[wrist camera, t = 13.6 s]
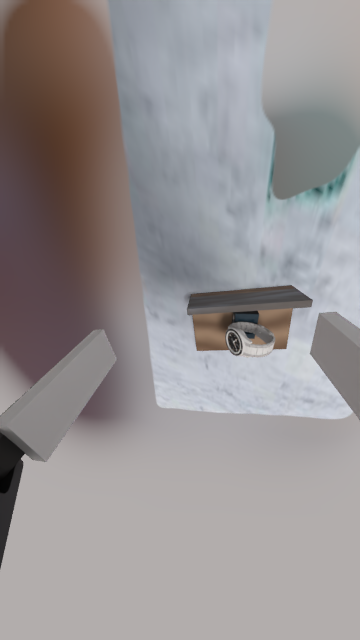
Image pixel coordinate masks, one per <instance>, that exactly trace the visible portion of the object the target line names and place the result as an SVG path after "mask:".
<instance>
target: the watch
mask: <svg viewBox="0 0 360 640" xmlns="http://www.w3.org/2000/svg"><path fill="white" fill-rule="evenodd" d="M258 319H259V313H258V311H243V312H233V317H232V324H230V325H229V326H228V330H227V331H226V334H225V340H226V344H227V347H228V349H229V350H230V352H231V353H232V354H233V355H235V356H243V357H247V358H248V357H264V356H267V355H269V354H270V353H271V352H272V350H273V347H274V343H275V337H274V334H273V333H272V332H271V331H270V330H268V329H267V328H265V327H264V326H262V325H260V324H259V325H257V324H258ZM255 334H256V336H257V337H259V338H260V339H262V340H263V341H264V342H265V343H266V344H263V345H258V344H257V345H255V344H251V343H252V341H251V340H250V339H255Z"/></svg>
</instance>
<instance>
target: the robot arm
mask: <svg viewBox="0 0 360 640" xmlns="http://www.w3.org/2000/svg"><path fill="white" fill-rule="evenodd" d="M310 354H311V356H312V357H313V358H314V360H315V361H316V362H317V364H318V365H319V366H320V368H321V369H322V370H323V372H324V373H325V374H326V376H327V377H328V378H329V380H330V381H331V382H332V384H333V385H334V386H335V388H336V389H337V390H338V392H339V393H340V394H341V396H342V397H343V398H344V400H345V401H346V402H347V404H348V405H349V406H350V408H351V409H352V410H353V412H354V413H355V414H356V416H357V417H358V418H359V420H360V329H359V328H358V327H356V326H355V325H354V324H352V323H351V322H349V321H348V320H347V319H345V318H344V317H342V316H341V315H340V314H338V313H337V312H328V313H319V316H318V320H317V325H316V329H315V334H314V338H313V343H312V347H311V351H310ZM116 360H117V358H116V356H115V354H114V352H113V350H112V347H111V345H110V343H109V341H108V339H107V336H106V334H105V332H104V330H94V331H93V332H91V334H89V336H87V337H86V338H85V339H84V340H83V341H82V342H81V343H80V344H78V345H77V346H76V347H75V348H74V349H73V350H72V351H71V352H70V353H69V354H68V355H66V356H65V357H64V358H63V359H62V360H61V361H60V362H59V363H58V364H57V365H56V366H54V367H53V368H52V369H51V370H50V371H49V372H48V373H47V374H46V375H45V376H44V377H43V378H42V379H40V380H39V381H38V382H37V383H35V384H34V385H33V386H32V387H31V388H30V389H29V390H28V391H27V392H26V393H25V394H24V395H22V397H21V398H19V399H18V400H17V401H16V402H15V403H14V404H13V405H11V406H10V407H9V408H8V409H7V410H6V411H5V412H4V413H3V414H2V415H1V416H0V568H1V563H2V559H3V554H4V550H5V545H6V541H7V536H8V532H9V527H10V523H11V519H12V514H13V510H14V505H15V500H16V496H17V492H18V487H19V483H20V478H21V473H22V469H23V461H22V460H21V457H22V456H23V455H24V454H26V455H28V456H29V457H30V458H31V459H32V460H36V461H44V462H46V461H47V460H48V459H49V457H50V456H51V454H52V453H53V451H54V450H55V448H56V447H57V446H58V444H59V443H60V441H61V440H62V438H63V437H64V436H65V434H66V433H67V431H68V429H69V428H70V427H71V425H72V424H73V422H74V421H75V420H76V418H77V417H78V415H79V414H80V412H81V411H82V409H83V408H84V407H85V405H86V404H87V402H88V401H89V399H90V398H91V396H92V395H93V394H94V392H95V391H96V389H97V388H98V386H99V385H100V383H101V382H102V380H103V379H104V378H105V376H106V375H107V373H108V372H109V370H110V369H111V367H112V366H113V365H114V363H115V362H116Z"/></svg>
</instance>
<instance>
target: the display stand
mask: <svg viewBox="0 0 360 640" xmlns="http://www.w3.org/2000/svg"><path fill="white" fill-rule="evenodd" d="M312 301H313V300H312V299H310V298H309V297H308V296H306V295H305V294H303V293H302V292H300V291H299V290H297V289H296V288H295V287H293V286H292V285H290V286H279V287H267V288H256V289H245V290H234V291H222V292H211V293H200V294H191V297H190V300H189V304H188V307H187V313H188V315H193V323H194V331H195V339H196V347H197V351H208V350H229V349H228V347H227V344H226V340H225V334H226V331H227V330H228V326H229V325H230V324H232V317H233V312H243V311H258V313H259V319H258V324H257V325H259V324H260V325H262V326H264V327H265V328H267V329H268V330H270V331H271V332H272V333H273V334H274V337H275V343H274V347H273V349H286V347H287V340H288V334H289V328H290V322H291V316H292V310H293V308H306V307H311V306H312ZM250 340H251V341H252V343H251V344H255V345H257V344H258V345H263V344H266V343H265V342H264V341H263V340H262V339H260V338H259V337H257V336H256V334H255V339H250Z"/></svg>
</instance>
